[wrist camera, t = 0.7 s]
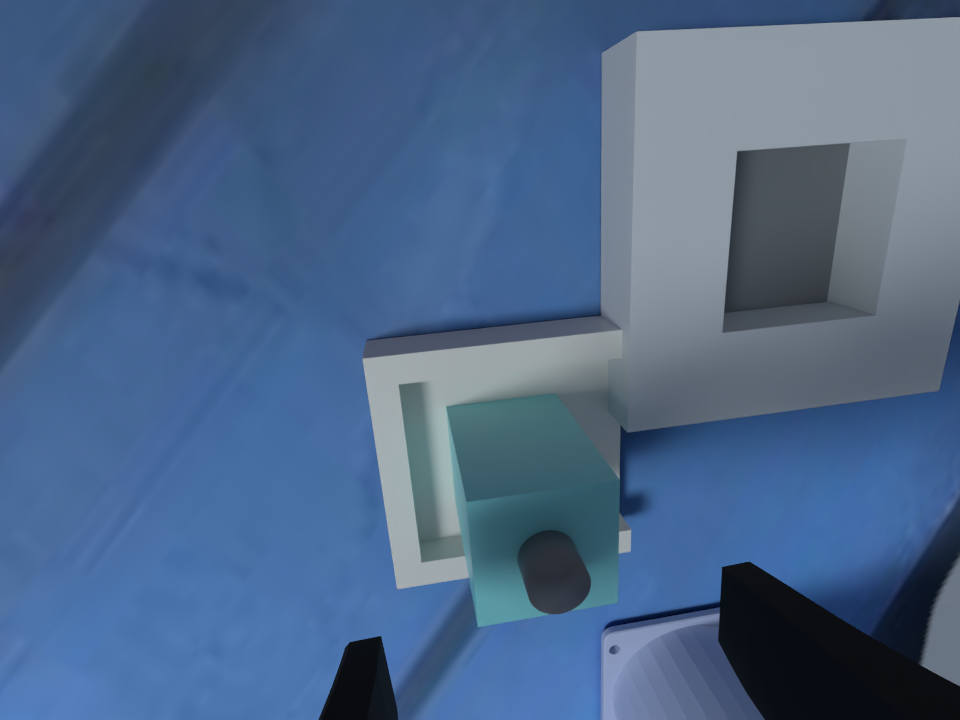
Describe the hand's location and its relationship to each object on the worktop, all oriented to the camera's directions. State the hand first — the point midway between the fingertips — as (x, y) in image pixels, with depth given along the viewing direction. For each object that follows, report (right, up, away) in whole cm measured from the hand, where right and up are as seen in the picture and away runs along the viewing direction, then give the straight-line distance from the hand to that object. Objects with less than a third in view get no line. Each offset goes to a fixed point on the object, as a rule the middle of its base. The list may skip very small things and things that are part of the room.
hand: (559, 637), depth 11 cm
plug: (-1, +2, +9) cm, 9 cm away
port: (+9, +10, +9) cm, 16 cm away
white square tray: (-1, +3, +10) cm, 10 cm away
